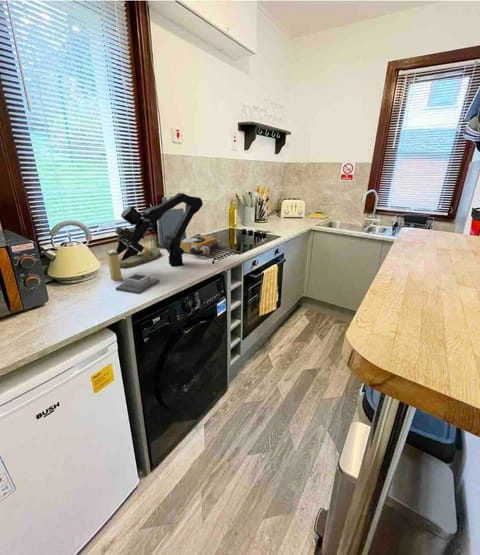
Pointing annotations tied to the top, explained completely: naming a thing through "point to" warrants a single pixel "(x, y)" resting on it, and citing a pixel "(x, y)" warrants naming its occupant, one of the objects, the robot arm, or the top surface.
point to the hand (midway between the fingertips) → (118, 257)
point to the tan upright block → (114, 264)
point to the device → (199, 244)
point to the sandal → (140, 257)
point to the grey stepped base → (137, 283)
